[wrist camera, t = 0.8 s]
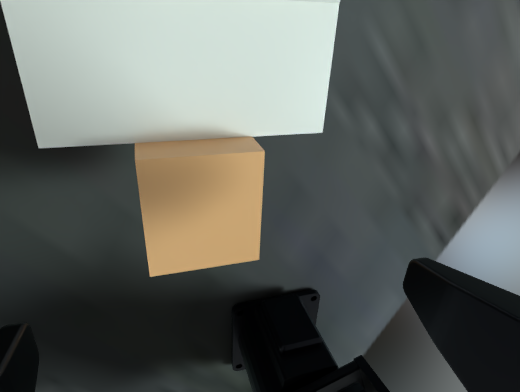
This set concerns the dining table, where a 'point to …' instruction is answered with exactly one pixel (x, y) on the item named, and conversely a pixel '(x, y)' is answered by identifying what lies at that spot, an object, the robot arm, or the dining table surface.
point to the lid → (179, 103)
